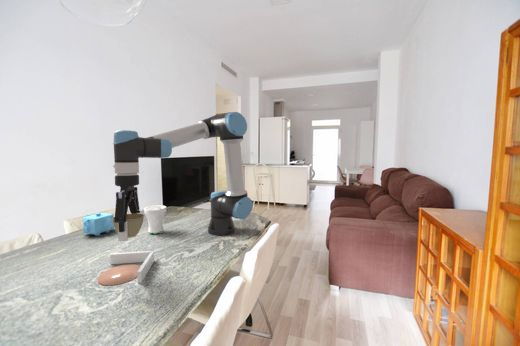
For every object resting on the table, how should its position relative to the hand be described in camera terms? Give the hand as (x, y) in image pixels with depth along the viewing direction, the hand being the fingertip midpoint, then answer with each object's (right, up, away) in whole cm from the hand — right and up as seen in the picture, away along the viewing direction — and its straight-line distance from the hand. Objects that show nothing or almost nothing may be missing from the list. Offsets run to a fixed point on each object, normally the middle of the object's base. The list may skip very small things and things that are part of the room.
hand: (128, 235), depth 84 cm
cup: (-10, -11, +45) cm, 47 cm away
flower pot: (0, 0, 0) cm, 1 cm away
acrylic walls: (-2, -14, +2) cm, 15 cm away
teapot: (-42, -11, +44) cm, 61 cm away
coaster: (-3, -15, 0) cm, 15 cm away
